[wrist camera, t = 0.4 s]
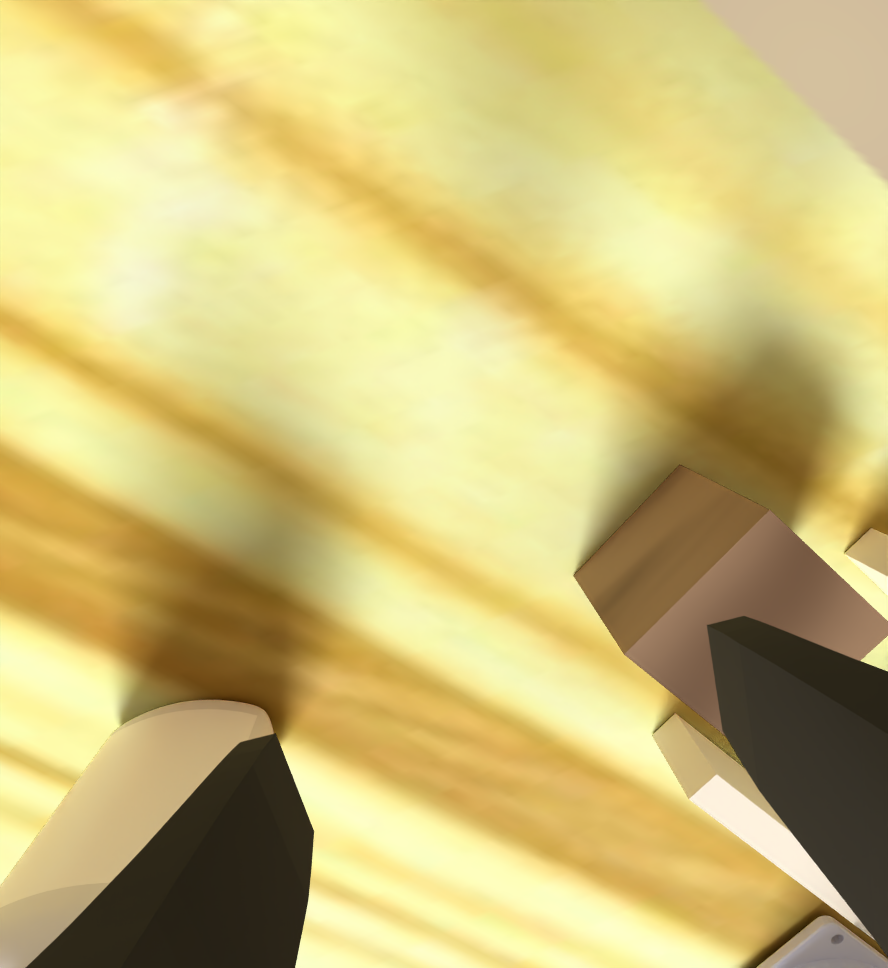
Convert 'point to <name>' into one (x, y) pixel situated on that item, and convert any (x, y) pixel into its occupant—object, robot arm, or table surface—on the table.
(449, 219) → the table surface
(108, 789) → the eye dropper bottle
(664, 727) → the dock
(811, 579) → the walnut cube
